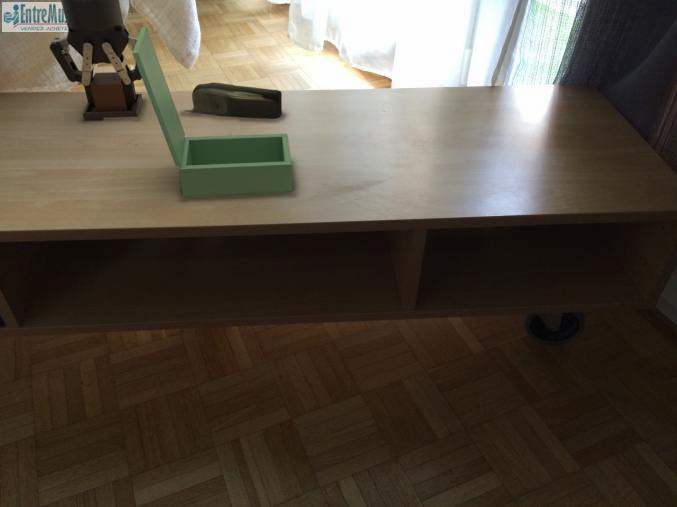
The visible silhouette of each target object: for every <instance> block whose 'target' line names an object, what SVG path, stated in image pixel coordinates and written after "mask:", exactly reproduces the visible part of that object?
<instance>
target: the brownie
mask: <svg viewBox="0 0 677 507" xmlns="http://www.w3.org/2000/svg"><path fill="white" fill-rule="evenodd" d="M90 87H91V91H92V95H93V99H94V103H95V107H96V111H97V112H107V111H127V108H128V107H127V103H126V98H125V94H124V89H123V81H122V80H121V78H120V76H119V74H118V72H116V71H113V72H112V71H111V72H110V71H109V72H107V71H105V72H95V73H94V74H93V79H92V81H91V84H90Z"/></svg>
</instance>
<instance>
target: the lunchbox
mask: <svg viewBox="0 0 677 507" xmlns="http://www.w3.org/2000/svg"><path fill="white" fill-rule="evenodd" d="M291 156H292V155H291V149H290V141H289V134H288V133H265V134H261V133H260V134H239V135H237V134H235V135H212V136H211V135H210V136H185V138H184V145H183V152H182V160H181V166H178V173H179V178H180V179H179V180H180V184H181V190H182V197H183V198H192V197H211V196H212V197H213V196H231V195H232V196H233V195H234V196H235V195H252V194H253V195H255V194H275V193H292V192H293V165H292V164H293V163H292V158H291Z"/></svg>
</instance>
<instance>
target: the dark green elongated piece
mask: <svg viewBox="0 0 677 507" xmlns="http://www.w3.org/2000/svg"><path fill="white" fill-rule="evenodd" d="M282 94H283V93H282V91H281V90H278V89H272V88H271V89H270V88H263V87H262V88H261V87H255V86H245V85H235V84H229V83H223V82H207V83H199V84H197V85H196V86H195V87H194V89H193V90H192V93H191V100H192V105H193V108H192V109H190V110H189V109H185V110H184V112H183V113H190V114H192V113H193V114H204V115H212V116H213V115H214V116H218V117H230V118H231V117H232V118H243V119H244V118H246V119H265V120H275V119H279V118H281V116H282V115H283V108H282V107H283V105H282V104H283V102H282V101H283V99H282V98H283V97H282Z"/></svg>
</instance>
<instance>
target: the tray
mask: <svg viewBox="0 0 677 507" xmlns="http://www.w3.org/2000/svg"><path fill="white" fill-rule="evenodd" d="M143 103H144V100H143V95H142V93H136V100H135V103H133V105H132V107H128V108H127V111H107V112H97V111H96V108H93V105H90V104H89V102H88V101H87V103H86V105H85V107H84V110H83V112H82V116H83V120H84V122H95V121H97V122H98V121H104V119H109V118H110V119H111V118H113V119H114V118H138V117H139V113H141V109H142V105H143Z"/></svg>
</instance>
